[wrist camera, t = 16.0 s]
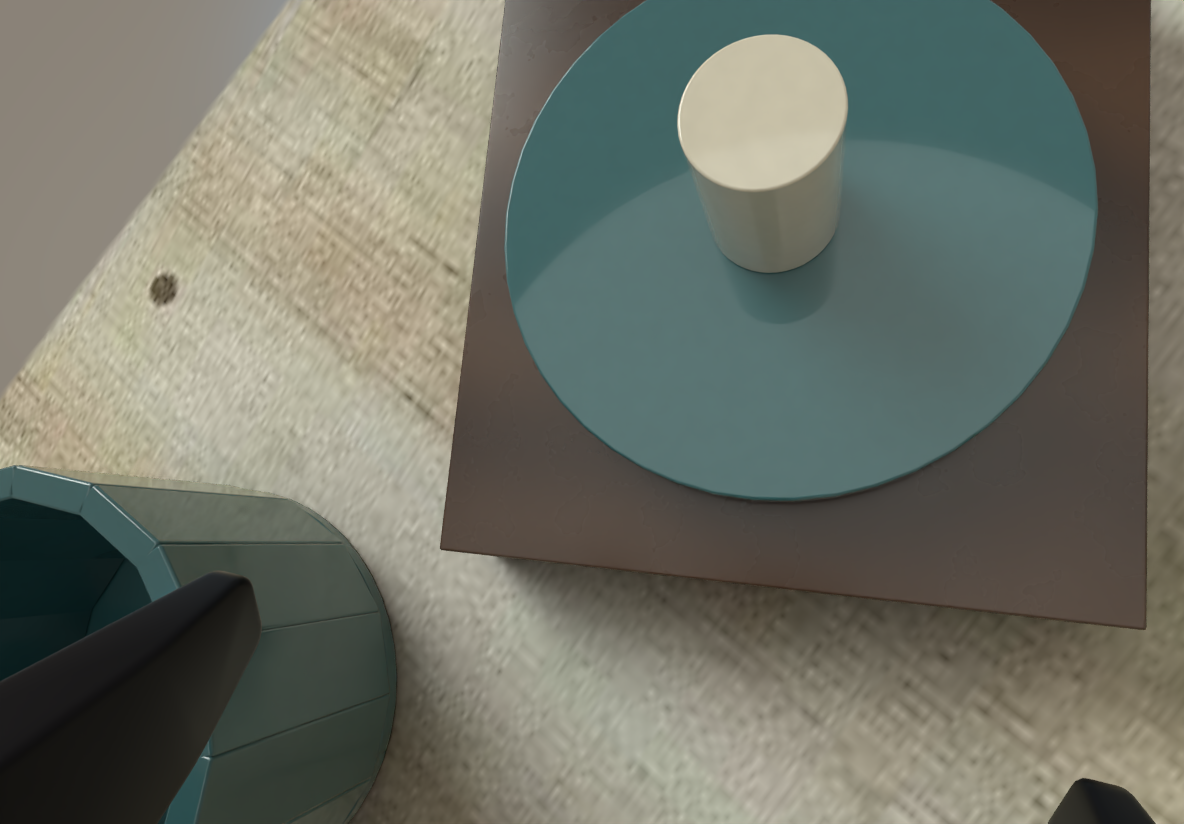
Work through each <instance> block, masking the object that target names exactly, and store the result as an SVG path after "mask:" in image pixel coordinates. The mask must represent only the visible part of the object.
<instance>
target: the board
mask: <svg viewBox="0 0 1184 824" xmlns="http://www.w3.org/2000/svg"><path fill="white" fill-rule="evenodd" d="M644 1H646V0H505V8H504V17H503V25H502V33H501V42H500V50H499V59H498V67H497V75H496V84H495V92H494V100H493V109H492V117H491V125H490V134H489V142H488V150H487V159H486V167H485V176H484V184H483V192H482V201H481V209H480V217H479V226H478V234H477V242H476V251H475V259H474V268H473V276H472V284H471V293H470V301H469V309H468V318H467V326H466V334H465V343H464V351H463V360H462V368H461V376H460V385H459V393H458V401H457V410H456V418H455V426H454V435H453V443H452V451H451V460H450V468H449V477H448V485H447V493H446V502H445V510H444V518H443V527H442V535H441V543H440V549H441V550H446V551H454V552H463V553H472V554H481V555H489V556H498V557H507V558H516V559H524V560H533V561H542V562H551V563H559V564H568V565H577V566H586V567H594V568H603V569H612V570H621V571H630V572H638V573H647V574H656V575H665V576H673V577H682V578H691V579H700V580H708V581H717V582H726V583H735V584H743V585H752V586H761V587H770V588H778V589H787V590H796V591H805V592H813V593H822V594H831V595H840V596H848V597H857V598H866V599H875V600H884V601H892V602H901V603H910V604H919V605H927V606H936V607H945V608H954V609H962V610H971V611H980V612H989V613H997V614H1006V615H1015V616H1024V617H1032V618H1041V619H1050V620H1059V621H1067V622H1076V623H1085V624H1094V625H1102V626H1111V627H1120V628H1129V629H1137V630H1145V629H1146V605H1147V464H1148V323H1149V182H1150V41H1151V0H991V1H992V2H993V3H995V4H996V5H998V6H999V7H1001V8H1002V9H1003V10H1004V11H1006V12H1007V13H1008V14H1009V15H1010V16H1011V17H1012V18H1013V19H1014V20H1015V21H1017V22H1018V23H1019V24H1020V25H1021V26H1022V27H1023V28H1024V29H1025V30H1026V31H1027V32H1029V33H1030V34H1031V36H1032V37H1033V38H1034V39H1035V41H1036V42H1037V43H1038V44H1039V45H1040V47H1041V48H1042V49H1043V50H1044V52H1045V53H1046V54H1047V55H1048V57H1049V58H1050V59H1051V60H1052V61H1053V63H1054V64H1055V66H1056V68H1057V69H1058V71H1059V73H1060V74H1061V76H1062V78H1063V80H1064V81H1065V83H1066V85H1067V86H1068V88H1069V90H1070V91H1071V93H1072V95H1073V97H1074V100H1075V102H1076V105H1077V107H1078V110H1079V112H1080V115H1081V117H1082V120H1083V122H1084V125H1085V127H1086V130H1087V133H1088V137H1089V142H1090V146H1091V151H1092V155H1093V160H1094V164H1095V169H1096V180H1097V196H1098V218H1097V229H1096V240H1095V250H1094V254H1093V258H1092V262H1091V266H1090V270H1089V274H1088V278H1087V282H1086V286H1085V290H1084V292H1083V294H1082V297H1081V299H1080V302H1079V304H1078V306H1077V309H1076V311H1075V314H1074V316H1073V319H1072V321H1071V323H1070V326H1069V328H1068V330H1067V331H1066V333H1065V335H1064V336H1063V338H1062V340H1061V341H1060V343H1059V345H1058V346H1057V348H1056V350H1055V351H1054V353H1053V355H1052V356H1051V358H1050V360H1049V362H1048V363H1047V364H1046V366H1045V367H1044V368H1043V369H1042V371H1041V372H1040V373H1039V374H1038V376H1037V377H1036V378H1035V379H1034V381H1033V382H1032V383H1031V384H1030V386H1029V387H1028V388H1027V389H1026V391H1025V392H1024V393H1023V394H1022V396H1021V397H1020V398H1019V399H1018V400H1017V401H1016V402H1014V403H1013V404H1012V405H1011V406H1010V407H1009V408H1008V409H1007V410H1006V411H1005V412H1004V413H1003V414H1002V415H1001V416H1000V417H999V418H997V419H996V420H995V421H994V422H993V423H992V424H991V425H990V426H989V427H988V428H986V429H985V430H983V431H982V432H981V433H979V434H978V435H976V436H975V437H974V438H972V439H971V440H969V441H968V442H967V443H965V444H964V445H962V446H961V447H960V448H958V449H957V450H956V451H954V452H953V453H951V454H949V455H948V456H946V457H944V458H942V459H940V460H938V461H936V462H934V463H933V464H931V465H929V466H927V467H925V468H923V469H921V470H920V471H918V472H916V473H914V474H912V475H909V476H906V477H904V478H901V479H898V480H896V481H893V482H890V483H888V484H885V485H883V486H880V487H877V488H875V489H870V490H866V491H862V492H858V493H854V494H850V495H845V496H841V497H837V498H831V499H821V500H812V501H803V502H755V501H748V500H742V499H735V498H728V497H722V496H716V495H713V494H709V493H706V492H702V491H699V490H695V489H692V488H688V487H685V486H681V485H679V484H676V483H674V482H672V481H669V480H667V479H665V478H663V477H660V476H658V475H656V474H653V473H651V472H649V471H647V470H644V469H642V468H641V467H639V466H637V465H636V464H634V463H632V462H631V461H629V460H627V459H626V458H624V457H622V456H621V455H619V454H618V453H616V452H614V451H613V450H611V449H610V448H609V447H607V446H606V445H605V444H604V443H602V442H601V441H600V440H599V439H597V438H596V437H595V436H594V435H593V434H591V433H590V432H589V431H588V430H586V429H585V428H584V427H583V426H582V425H581V424H580V423H579V422H578V421H577V420H576V419H575V417H574V416H573V415H572V414H571V413H570V412H569V411H568V410H567V409H566V408H565V407H564V406H563V405H562V404H561V403H560V401H559V400H558V398H557V397H556V396H555V394H554V393H553V391H552V390H551V389H550V387H549V386H548V384H547V383H546V382H545V380H544V379H543V377H542V376H541V374H540V373H539V371H538V369H537V367H536V365H535V363H534V361H533V359H532V357H531V355H530V353H529V352H528V350H527V348H526V346H525V343H524V341H523V338H522V335H521V332H520V330H519V327H518V324H517V321H516V318H515V316H514V312H513V308H512V303H511V298H510V294H509V289H508V284H507V277H506V264H505V252H504V243H505V224H506V212H507V206H508V200H509V195H510V189H511V184H512V180H513V176H514V173H515V170H516V167H517V164H518V160H519V157H520V154H521V151H522V148H523V146H524V144H525V141H526V139H527V137H528V135H529V132H530V130H531V128H532V126H533V123H534V121H535V119H536V117H537V116H538V114H539V112H540V111H541V109H542V107H543V106H544V104H545V102H546V101H547V99H548V97H549V95H550V94H551V92H552V90H553V89H554V88H555V86H556V85H557V84H558V83H559V81H560V80H561V79H562V77H563V76H564V75H565V73H566V72H567V71H568V69H569V68H570V67H571V65H572V64H573V63H574V62H575V61H576V60H577V59H578V58H579V56H580V55H581V54H582V53H583V52H584V51H585V50H586V49H587V48H588V47H589V46H590V45H591V44H592V43H593V42H594V41H595V40H596V39H597V38H598V37H599V36H600V35H601V34H602V33H603V32H605V31H606V30H607V29H608V28H609V27H611V26H612V25H613V24H614V23H615V22H617V21H618V20H619V19H620V18H621V17H622V16H624V15H625V14H626V13H628V12H629V11H631V10H632V9H634V8H635V7H637V6H638V5H640V4H641V3H643V2H644Z"/></svg>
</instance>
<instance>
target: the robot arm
mask: <svg viewBox="0 0 1184 824" xmlns="http://www.w3.org/2000/svg"><path fill="white" fill-rule="evenodd" d="M261 632H262V623H261V618H260V614H259V610H258V605H257V601H256V597H255V593H254V589H253V585H252V583H251V581H250V580H249V579H248V578H247V577H245V576H242V575H238V574H234V573H229V572H225V571H213V572H209V573H207V574H205V575H203V576H201V577H199V578H197V579H195V580H193V581H192V582H190V583H188V584H186V585H184V586H182V587H180V588H178V589H176V590H174V591H172V592H170V593H169V594H167V595H165V596H163V597H161V598H159V599H157V600H155V601H153V602H151V603H149V604H148V605H146V606H144V607H142V608H140V609H138V610H136V611H134V612H132V613H130V614H128V615H126V616H125V617H123V618H121V619H119V620H117V621H115V622H113V623H111V624H109V625H107V626H105V627H103V628H102V629H100V630H98V631H96V632H94V633H92V634H90V635H88V636H86V637H84V638H82V639H80V640H79V641H77V642H75V643H73V644H71V645H69V646H67V647H65V648H63V649H61V650H59V651H58V652H56V653H54V654H52V655H50V656H48V657H46V658H44V659H42V660H40V661H38V662H36V663H35V664H33V665H31V666H29V667H27V668H25V669H23V670H21V671H19V672H17V673H15V674H13V675H12V676H10V677H8V678H6V679H4V680H2V681H0V824H158V822H159V821H160V819H161V817H162V816H163V814H164V813H165V811H166V810H167V808H168V807H169V805H170V804H171V802H172V801H173V799H174V797H175V796H176V794H177V793H178V791H179V790H180V788H181V787H182V785H183V784H184V782H185V780H186V779H187V777H188V775H189V774H190V772H191V771H192V769H193V767H194V766H195V764H196V762H197V761H198V759H199V757H200V755H201V753H202V752H203V750H204V748H205V746H206V744H207V742H208V740H209V739H210V737H211V735H212V733H213V731H214V729H215V727H216V725H217V723H218V721H219V719H220V717H221V715H222V713H223V711H224V710H225V708H226V706H227V704H228V702H229V700H230V698H231V696H232V694H233V692H234V690H235V688H236V686H237V684H238V682H239V681H240V679H241V677H242V675H243V673H244V671H245V669H246V667H247V665H248V663H249V661H250V659H251V657H252V655H253V653H254V652H255V650H256V648H257V645H258V643H259V640H260V637H261ZM1048 824H1156V823H1155V822H1154V821H1153V820H1152V818H1151V817H1150V816H1149V815H1148V813H1147V812H1146V811H1145V810H1144V808H1143V807H1142V806H1141V805H1140V803H1139V802H1138V801H1137V800H1136V798H1135V797H1134V796H1133V795H1132V794H1131V793H1129V792H1128V791H1127V790H1125V789H1124V788H1122V787H1119V786H1116V785H1112V784H1108V783H1104V782H1099V781H1095V780H1091V779H1086V778H1082V779H1079V780H1077V781H1075V782H1074V784H1073V785H1072V786H1071V788H1070V789H1069V791H1068V792H1067V794H1066V795H1065V797H1064V798H1063V800H1062V801H1061V803H1060V805H1059V806H1058V808H1057V809H1056V811H1055V812H1054V814H1053V815H1052V817H1051V818H1050V820H1049V822H1048Z"/></svg>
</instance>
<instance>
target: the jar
mask: <svg viewBox="0 0 1184 824" xmlns="http://www.w3.org/2000/svg"><path fill="white" fill-rule="evenodd" d="M213 571H225V572H229V573H234V574H238V575H242V576H245V577H247V578H248V579H249V580H250V581H251V583H252V585H253V589H254V593H255V597H256V601H257V605H258V610H259V614H260V618H261V623H262V632H261V637H260V640H259V643H258V645H257V648H256V650H255V652H254V653H253V655H252V657H251V659H250V661H249V663H248V665H247V667H246V669H245V671H244V673H243V675H242V677H241V679H240V681H239V682H238V684H237V686H236V688H235V690H234V692H233V694H232V696H231V698H230V700H229V702H228V704H227V706H226V708H225V710H224V711H223V713H222V715H221V717H220V719H219V721H218V723H217V725H216V727H215V729H214V731H213V733H212V735H211V737H210V739H209V740H208V742H207V744H206V746H205V748H204V750H203V752H202V753H201V755H200V757H199V759H198V761H197V762H196V764H195V766H194V767H193V769H192V771H191V772H190V774H189V775H188V777H187V779H186V780H185V782H184V784H183V785H182V787H181V788H180V790H179V791H178V793H177V794H176V796H175V797H174V799H173V801H172V802H171V804H170V805H169V807H168V808H167V810H166V811H165V813H164V814H163V816H162V817H161V819H160V821H159V822H158V824H348V823H349V821H350V820H351V819H352V817H353V816H354V815H355V813H356V812H357V811H358V809H359V808H360V806H361V805H362V803H363V801H364V799H365V798H366V796H367V794H368V792H369V790H370V789H371V787H372V785H373V783H374V781H375V778H376V776H377V773H378V771H379V769H380V766H381V764H382V761H383V759H384V756H385V752H386V749H387V745H388V741H389V738H390V734H391V730H392V724H393V717H394V711H395V705H396V684H397V672H396V658H395V647H394V642H393V637H392V631H391V626H390V622H389V619H388V616H387V612H386V609H385V606H384V603H383V600H382V597H381V595H380V593H379V590H378V588H377V586H376V584H375V582H374V579H373V577H372V575H371V574H370V572H369V570H368V569H367V567H366V565H365V564H364V562H363V561H362V559H361V557H360V556H359V554H358V553H357V552H356V551H355V549H354V548H353V547H352V546H351V545H350V543H349V542H348V541H347V540H346V538H345V537H344V536H343V535H342V534H341V533H340V532H339V531H337V530H336V529H335V528H334V527H333V526H332V525H331V524H330V523H329V522H328V521H327V520H325V519H324V518H322V517H321V516H319V515H318V514H316V513H315V512H314V511H312V510H311V509H309V508H307V507H305V506H303V505H301V504H299V503H297V502H295V501H293V500H291V499H288V498H285V497H282V496H279V495H275V494H272V493H268V492H261V491H254V490H248V489H244V488H239V487H235V486H231V485H222V484H211V483H201V482H190V481H180V480H170V479H159V478H149V477H138V476H128V475H118V474H107V473H97V472H86V471H76V470H66V469H55V468H45V467H34V466H24V465H19V466H18V465H14V466H10V467H6V468H2V469H0V681H2V680H4V679H6V678H8V677H10V676H12V675H13V674H15V673H17V672H19V671H21V670H23V669H25V668H27V667H29V666H31V665H33V664H35V663H36V662H38V661H40V660H42V659H44V658H46V657H48V656H50V655H52V654H54V653H56V652H58V651H59V650H61V649H63V648H65V647H67V646H69V645H71V644H73V643H75V642H77V641H79V640H80V639H82V638H84V637H86V636H88V635H90V634H92V633H94V632H96V631H98V630H100V629H102V628H103V627H105V626H107V625H109V624H111V623H113V622H115V621H117V620H119V619H121V618H123V617H125V616H126V615H128V614H130V613H132V612H134V611H136V610H138V609H140V608H142V607H144V606H146V605H148V604H149V603H151V602H153V601H155V600H157V599H159V598H161V597H163V596H165V595H167V594H169V593H170V592H172V591H174V590H176V589H178V588H180V587H182V586H184V585H186V584H188V583H190V582H192V581H193V580H195V579H197V578H199V577H201V576H203V575H205V574H207V573H209V572H213Z"/></svg>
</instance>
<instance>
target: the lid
mask: <svg viewBox="0 0 1184 824" xmlns="http://www.w3.org/2000/svg"><path fill="white" fill-rule="evenodd" d="M1097 218H1098V196H1097V180H1096V169H1095V164H1094V160H1093V155H1092V151H1091V146H1090V142H1089V137H1088V133H1087V130H1086V127H1085V125H1084V122H1083V120H1082V117H1081V115H1080V112H1079V110H1078V107H1077V105H1076V102H1075V100H1074V97H1073V95H1072V93H1071V91H1070V90H1069V88H1068V86H1067V85H1066V83H1065V81H1064V80H1063V78H1062V76H1061V74H1060V73H1059V71H1058V69H1057V68H1056V66H1055V64H1054V63H1053V61H1052V60H1051V59H1050V58H1049V57H1048V55H1047V54H1046V53H1045V52H1044V50H1043V49H1042V48H1041V47H1040V45H1039V44H1038V43H1037V42H1036V41H1035V39H1034V38H1033V37H1032V36H1031V34H1030V33H1029V32H1027V31H1026V30H1025V29H1024V28H1023V27H1022V26H1021V25H1020V24H1019V23H1018V22H1017V21H1015V20H1014V19H1013V18H1012V17H1011V16H1010V15H1009V14H1008V13H1007V12H1006V11H1004V10H1003V9H1002V8H1001V7H999V6H998V5H996V4H995V3H993V2H992V1H991V0H646V1H644V2H643V3H641V4H640V5H638V6H637V7H635V8H634V9H632V10H631V11H629V12H628V13H626V14H625V15H624V16H622V17H621V18H620V19H619V20H618V21H617V22H615V23H614V24H613V25H612V26H611V27H609V28H608V29H607V30H606V31H605V32H603V33H602V34H601V35H600V36H599V37H598V38H597V39H596V40H595V41H594V42H593V43H592V44H591V45H590V46H589V47H588V48H587V49H586V50H585V51H584V52H583V53H582V54H581V55H580V56H579V58H578V59H577V60H576V61H575V62H574V63H573V64H572V65H571V67H570V68H569V69H568V71H567V72H566V73H565V75H564V76H563V77H562V79H561V80H560V81H559V83H558V84H557V85H556V86H555V88H554V89H553V90H552V92H551V94H550V95H549V97H548V99H547V101H546V102H545V104H544V106H543V107H542V109H541V111H540V112H539V114H538V116H537V117H536V119H535V121H534V123H533V126H532V128H531V130H530V132H529V135H528V137H527V139H526V141H525V144H524V146H523V148H522V151H521V154H520V157H519V160H518V164H517V167H516V170H515V173H514V176H513V180H512V184H511V189H510V195H509V200H508V206H507V212H506V224H505V243H504V252H505V264H506V277H507V284H508V289H509V294H510V298H511V303H512V308H513V312H514V316H515V318H516V321H517V324H518V327H519V330H520V332H521V335H522V338H523V341H524V343H525V346H526V348H527V350H528V352H529V353H530V355H531V357H532V359H533V361H534V363H535V365H536V367H537V369H538V371H539V373H540V374H541V376H542V377H543V379H544V380H545V382H546V383H547V384H548V386H549V387H550V389H551V390H552V391H553V393H554V394H555V396H556V397H557V398H558V400H559V401H560V403H561V404H562V405H563V406H564V407H565V408H566V409H567V410H568V411H569V412H570V413H571V414H572V415H573V416H574V417H575V419H576V420H577V421H578V422H579V423H580V424H581V425H582V426H583V427H584V428H585V429H586V430H588V431H589V432H590V433H591V434H593V435H594V436H595V437H596V438H597V439H599V440H600V441H601V442H602V443H604V444H605V445H606V446H607V447H609V448H610V449H611V450H613V451H614V452H616V453H618V454H619V455H621V456H622V457H624V458H626V459H627V460H629V461H631V462H632V463H634V464H636V465H637V466H639V467H641V468H642V469H644V470H647V471H649V472H651V473H653V474H656V475H658V476H660V477H663V478H665V479H667V480H669V481H672V482H674V483H676V484H679V485H681V486H685V487H688V488H692V489H695V490H699V491H702V492H706V493H709V494H713V495H716V496H722V497H728V498H735V499H742V500H748V501H755V502H803V501H812V500H821V499H831V498H837V497H841V496H845V495H850V494H854V493H858V492H862V491H866V490H870V489H875V488H877V487H880V486H883V485H885V484H888V483H890V482H893V481H896V480H898V479H901V478H904V477H906V476H909V475H912V474H914V473H916V472H918V471H920V470H921V469H923V468H925V467H927V466H929V465H931V464H933V463H934V462H936V461H938V460H940V459H942V458H944V457H946V456H948V455H949V454H951V453H953V452H954V451H956V450H957V449H958V448H960V447H961V446H962V445H964V444H965V443H967V442H968V441H969V440H971V439H972V438H974V437H975V436H976V435H978V434H979V433H981V432H982V431H983V430H985V429H986V428H988V427H989V426H990V425H991V424H992V423H993V422H994V421H995V420H996V419H997V418H999V417H1000V416H1001V415H1002V414H1003V413H1004V412H1005V411H1006V410H1007V409H1008V408H1009V407H1010V406H1011V405H1012V404H1013V403H1014V402H1016V401H1017V400H1018V399H1019V398H1020V397H1021V396H1022V394H1023V393H1024V392H1025V391H1026V389H1027V388H1028V387H1029V386H1030V384H1031V383H1032V382H1033V381H1034V379H1035V378H1036V377H1037V376H1038V374H1039V373H1040V372H1041V371H1042V369H1043V368H1044V367H1045V366H1046V364H1047V363H1048V362H1049V360H1050V358H1051V356H1052V355H1053V353H1054V351H1055V350H1056V348H1057V346H1058V345H1059V343H1060V341H1061V340H1062V338H1063V336H1064V335H1065V333H1066V331H1067V330H1068V328H1069V326H1070V323H1071V321H1072V319H1073V316H1074V314H1075V311H1076V309H1077V306H1078V304H1079V302H1080V299H1081V297H1082V294H1083V292H1084V290H1085V286H1086V282H1087V278H1088V274H1089V270H1090V266H1091V262H1092V258H1093V254H1094V250H1095V240H1096V229H1097Z"/></svg>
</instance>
